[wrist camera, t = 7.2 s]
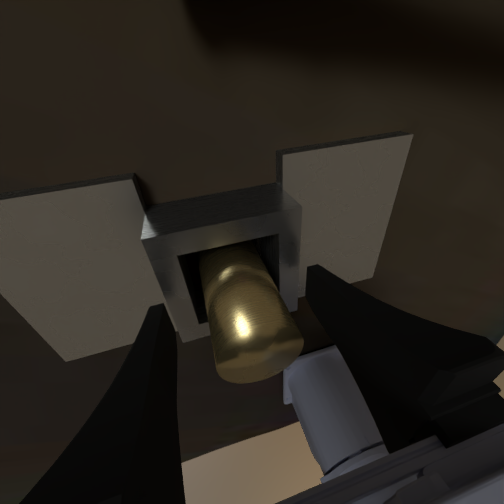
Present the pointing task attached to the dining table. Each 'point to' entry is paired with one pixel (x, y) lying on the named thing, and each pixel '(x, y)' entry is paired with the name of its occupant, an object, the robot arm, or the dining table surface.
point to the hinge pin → (246, 315)
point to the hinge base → (189, 241)
